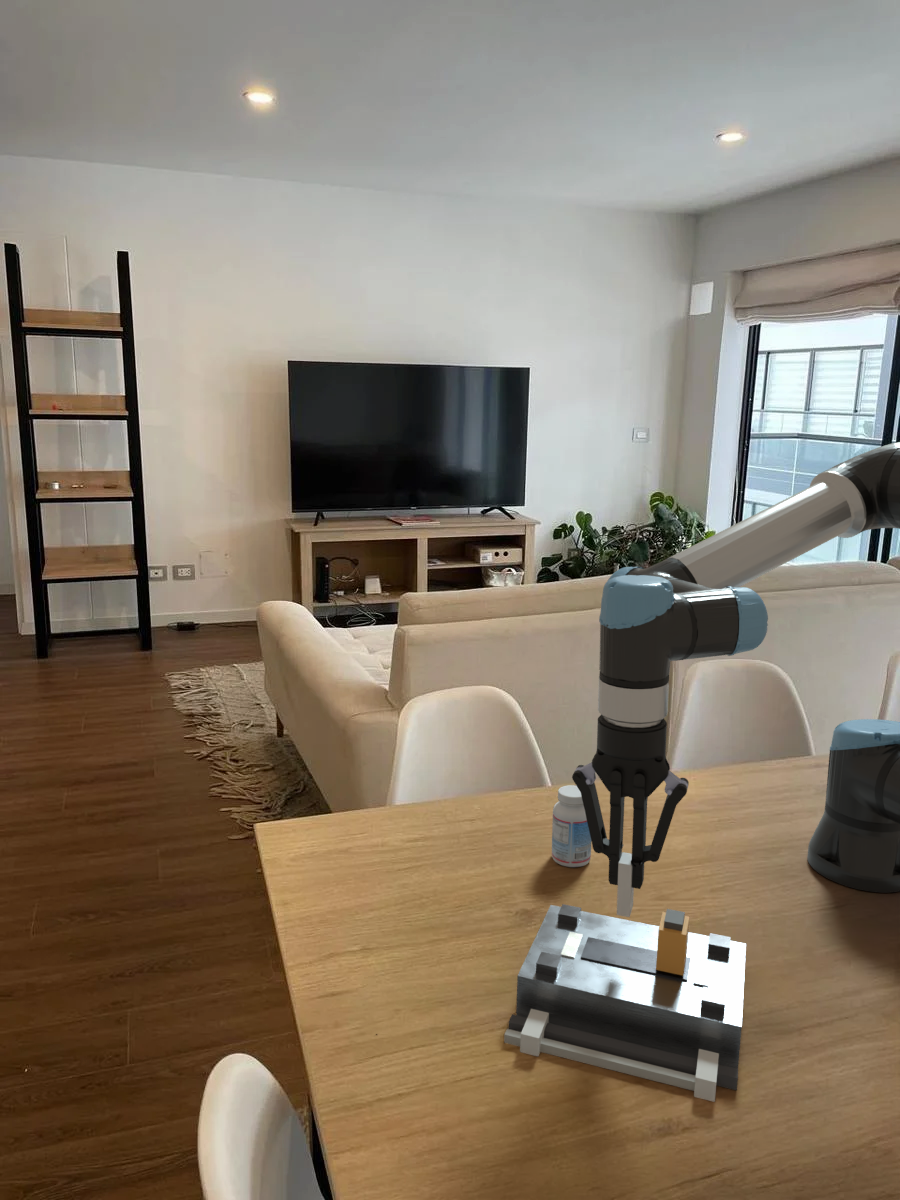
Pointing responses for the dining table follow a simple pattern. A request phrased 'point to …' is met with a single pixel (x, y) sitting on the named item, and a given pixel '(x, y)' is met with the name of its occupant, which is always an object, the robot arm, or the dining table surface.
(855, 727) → the robot arm
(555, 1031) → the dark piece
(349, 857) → the dining table surface
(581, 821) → the pill bottle
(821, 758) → the dining table surface
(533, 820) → the dining table surface
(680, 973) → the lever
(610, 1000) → the panel
